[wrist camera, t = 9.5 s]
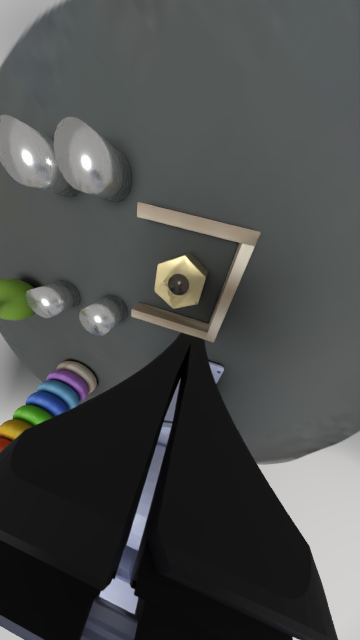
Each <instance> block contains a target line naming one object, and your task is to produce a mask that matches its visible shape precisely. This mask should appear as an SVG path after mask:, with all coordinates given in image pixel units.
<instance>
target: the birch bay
mask: <svg viewBox="0 0 360 640" xmlns="http://www.w3.org/2000/svg"><path fill="white" fill-rule="evenodd" d="M137 217H141V218H145V219H148V220H152V221H156V222H160V223H164V224H168V225H172V226H176V227H180V228H184V229H188V230H191V231H195V232H199V233H203V234H207V235H211V236H215V237H219V238H223V239H227V240H231V241H235V242H238V243H239V245H238V248H237V251H236V253H235V256H234V258H233V261H232V264H231V266H230V269H229V272H228V274H227V277H226V280H225V282H224V285H223V288H222V290H221V293H220V296H219V298H218V301H217V304H216V306H215V309H214V312H213V314H212V317H211V320H210V322H209V324H208V323H204V322H201V321H198V320H195V319H192V318H188V317H185V316H182V315H179V314H175V313H172V312H169V311H166V310H162V309H159V308H156V307H153V306H149V305H146V304H143V303H138V304H137V305H136V306H135V307H134V308H132V314H131V316H132V317H135V318H138V319H141V320H144V321H147V322H151V323H154V324H157V325H160V326H163V327H166V328H169V329H173V330H176V331H179V332H182V333H185V334H188V335H192V336H195V337H199V338H202V339H204V340H207V341H210V342H213V343H214V340H215V338H216V336H217V333H218V331H219V329H220V326H221V324H222V322H223V319H224V317H225V315H226V312H227V310H228V308H229V305H230V303H231V301H232V298H233V296H234V294H235V291H236V289H237V287H238V284H239V282H240V280H241V277H242V275H243V273H244V270H245V268H246V266H247V264H248V261H249V259H250V257H251V254H252V252H253V250H254V247H255V245H256V243H257V240H258V238H259V236H260V233H261V232H257V231H253V230H249V229H245V228H241V227H237V226H233V225H229V224H225V223H221V222H217V221H213V220H209V219H205V218H201V217H197V216H192V215H188V214H184V213H180V212H176V211H172V210H168V209H164V208H160V207H156V206H152V205H148V204H144V203H140V202H138V207H137Z"/></svg>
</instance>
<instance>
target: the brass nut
mask: <svg viewBox="0 0 360 640" xmlns="http://www.w3.org/2000/svg"><path fill="white" fill-rule="evenodd" d="M207 273H208V270H207V269H206V268H205V267H204V266H203V265H202V264H201V263H200V262H199V261H198V260H197V259H196V258H195V256H194V255H193V254H192V253H191V252H190V253H187V254H184V255H181V256H178V257H175V258H172V259H169V260H166V261H164V262H162V263H160V264H158V267H157V275H156V282H155V290H154V291H155V292H156V293H157V294H158V295H159V296H160V297H161V298H162V299H163V300H164V301H166V302H167V303H168V304H169V305H170V306H171V307H172V308H173V309H175V308H180V307H185V306H190V305H195V304H198V302H199V299H200V296H201V293H202V290H203V286H204V283H205V280H206V277H207Z"/></svg>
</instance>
